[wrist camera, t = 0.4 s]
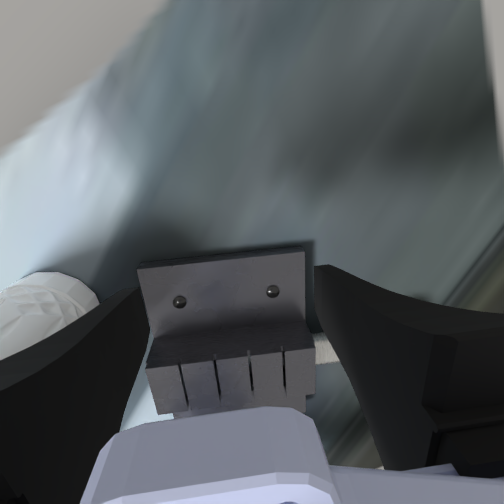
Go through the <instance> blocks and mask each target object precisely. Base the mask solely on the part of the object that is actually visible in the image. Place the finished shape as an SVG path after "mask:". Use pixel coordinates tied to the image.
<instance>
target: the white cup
mask: <svg viewBox="0 0 504 504" xmlns="http://www.w3.org/2000/svg"><path fill="white" fill-rule="evenodd" d="M99 304H100V303H99V301H98V298H97V296H96V294H95V293H94V292H93V291H92V290H91V289H89V288H88V287H87V286H86V285H85V284H84V283H82V282H81V281H80V280H78V279H76V278H73V277H70V276H68V275H65V274H62V273H59V272H35V273H33V274H30V275H28V276H26V277H24V278H22V279H19V280H17V281H16V282H14V283H12V284H11V285H9V286H8V287H6V288H5V289H3V290H2V291H0V360H2V359H4V358H6V357H9V356H11V355H13V354H15V353H17V352H19V351H22V350H24V349H26V348H28V347H30V346H32V345H34V344H36V343H38V342H39V341H41V340H43V339H45V338H47V337H49V336H51V335H52V334H54V333H56V332H58V331H59V330H61V329H63V328H64V327H66V326H67V325H69V324H70V323H72V322H74V321H75V320H77V319H78V318H80V317H81V316H83V315H85V314H86V313H87V312H89V311H90V310H92V309H93V308H95V307H96V306H98V305H99Z"/></svg>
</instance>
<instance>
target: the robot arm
mask: <svg viewBox="0 0 504 504" xmlns="http://www.w3.org/2000/svg"><path fill="white" fill-rule="evenodd" d="M314 308H315V311H316V314H317V317H318V319H319V322H320V325H321V327H322V329H323V331H324V333H325V335H326V337H327V339H328V340H329V342H330V344H331V346H332V348H333V349H334V351H335V353H336V355H337V357H338V359H339V360H340V362H341V364H342V366H343V368H344V369H345V371H346V373H347V375H348V377H349V379H350V382H351V384H352V386H353V389H354V391H355V394H356V396H357V398H358V401H359V403H360V406H361V408H362V411H363V413H364V416H365V418H366V421H367V423H368V426H369V428H370V431H371V434H372V436H373V439H374V442H375V445H376V447H377V450H378V453H379V455H380V458H381V461H382V464H383V466H384V469H385V470H380V469H368V468H356V467H344V466H332V465H329V464H328V461H327V458H326V454H325V451H324V448H323V445H322V442H321V439H320V436H319V433H318V431H317V428H316V426H315V423H314V421H313V419H311V418H310V417H308V416H306V415H304V414H302V413H301V412H299V411H297V410H295V409H294V408H290V407H274V406H262V407H255V408H248V409H241V410H234V411H227V412H220V413H213V414H206V415H199V416H192V417H185V418H178V419H172V420H165V421H158V422H151V423H144V424H142V425H139V426H136V427H133V428H130V429H127V430H124V431H121V432H119V430H120V426H121V422H122V418H123V414H124V411H125V408H126V405H127V401H128V399H129V396H130V393H131V390H132V388H133V385H134V382H135V380H136V377H137V374H138V371H139V369H140V366H141V363H142V360H143V357H144V355H145V352H146V348H147V343H148V338H149V333H150V326H149V323H148V319H147V315H146V312H145V308H144V304H143V300H142V297H141V293H140V289H139V287H137V288H128V289H123V290H121V291H119V292H117V293H116V294H114V295H112V296H111V297H109V298H108V299H106V300H105V301H104V302H102V303H101V304H99V305H98V306H96V307H95V308H93V309H92V310H90V311H89V312H87V313H86V314H85V315H83V316H81V317H80V318H78V319H77V320H75V321H74V322H72V323H70V324H69V325H67V326H66V327H64V328H63V329H61V330H59V331H58V332H56V333H54V334H52V335H51V336H49V337H47V338H45V339H43V340H41V341H39V342H38V343H36V344H34V345H32V346H30V347H28V348H26V349H24V350H22V351H19V352H17V353H15V354H13V355H11V356H9V357H6V358H4V359H2V360H0V504H504V314H499V313H488V312H480V311H473V310H466V309H460V308H454V307H449V306H443V305H439V304H434V303H430V302H426V301H422V300H418V299H414V298H411V297H407V296H404V295H401V294H398V293H395V292H392V291H389V290H386V289H384V288H381V287H379V286H376V285H374V284H371V283H369V282H367V281H365V280H362V279H360V278H358V277H356V276H354V275H352V274H349V273H347V272H345V271H343V270H341V269H339V268H337V267H334V266H332V265H329V264H328V265H320V266H314Z"/></svg>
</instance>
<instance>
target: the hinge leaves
mask: <svg viewBox="0 0 504 504" xmlns="http://www.w3.org/2000/svg"><path fill="white" fill-rule="evenodd" d="M136 270H137V274H138V278H139V282H140V286H141V290H142V294H143V298H144V302H145V306H146V309H147V313H148V317H149V321H150V325H151V329H152V333H153V337H154V340H153V343H152V346H151V349H150V352H149V355H148V358H147V361H146V368H145V370H146V374H147V377H148V381H149V384H150V388H151V392H152V395H153V399H154V402H155V406H156V409H157V413H158V415H161V414H168V413H173V416H174V419H178V418H185V417H192V416H199V415H206V414H213V413H220V412H227V411H234V410H241V409H248V408H255V407H262V406H274V407H290V408H294V409H295V410H297V411H299V412H301V413H305V412H306V395H310V394H315V369H316V347H315V342H314V339H313V337H312V335H311V332H310V330H309V328H308V326H307V323H306V321H305V251H304V250H303V248H302V247H301V246H293V247H284V248H274V249H265V250H255V251H246V252H236V253H227V254H217V255H208V256H198V257H189V258H179V259H170V260H160V261H151V262H141V263H140V265H139V266H138V268H137V269H136ZM282 351H283V354H284V369H283V364H282ZM248 356H250V357H251V367H252V374H249V364H248Z"/></svg>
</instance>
